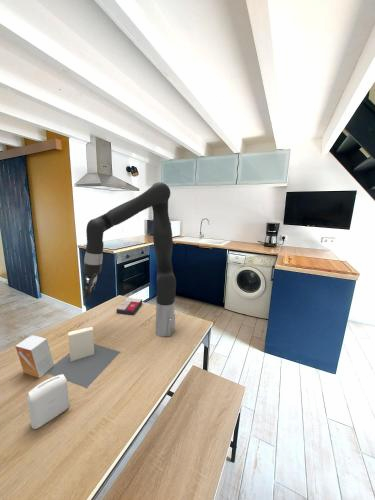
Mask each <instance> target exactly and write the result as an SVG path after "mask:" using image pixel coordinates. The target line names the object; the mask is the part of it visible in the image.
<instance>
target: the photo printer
mask: <svg viewBox="0 0 375 500" xmlns="http://www.w3.org/2000/svg"><path fill="white" fill-rule="evenodd" d="M26 399H27V408H28V414H29V420H30V426H31V428H32V429H34V430H38V429H39V428H40V427H42V426H44V425H45V424H47V423H48V422H50V421H52V420H53V419H55V418H56V417H57V416H60V414H62V413H63V412H65V411H66V410H67V409H69V407H70V399H69V389H68V381H67V379H66V378H65V376H64V374H62V375H58V376H53V377H50V378H49V379H46V380H44V381H42V382H41V383H39V384H37V385H36V386H35V387H33V388H32V389H31V390H30V391H29V392H27V398H26Z"/></svg>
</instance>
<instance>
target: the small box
mask: <svg viewBox="0 0 375 500" xmlns="http://www.w3.org/2000/svg"><path fill="white" fill-rule="evenodd" d="M15 349H16V350H15V351H16V353H17V355H18V358H19V361H20V365H21V368H22V371H23V373H24V374H27V375H29V376H32V377H34V378H37V379H41V378H42V377H43V376H44V375H45V374H47V373H46V372H47V371H49V370H50V369H51V368H52V367H53V366H54V364H55V363H54V359H53V356H52V354H51V350H50V345H49V343H48V339H47V338H46V337H41V336H37V335H33V334H30V336H28V337H26V338H25V339H24V340H22V341H20V342H18V343H17V344H16V345H15Z"/></svg>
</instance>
